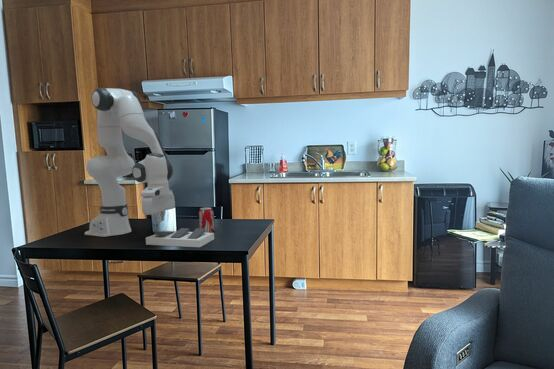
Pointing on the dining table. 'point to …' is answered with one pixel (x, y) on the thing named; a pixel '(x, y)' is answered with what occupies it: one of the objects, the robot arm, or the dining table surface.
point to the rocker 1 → (163, 232)
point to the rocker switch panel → (179, 240)
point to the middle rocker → (180, 233)
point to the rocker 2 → (197, 233)
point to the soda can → (206, 219)
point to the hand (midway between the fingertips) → (160, 221)
